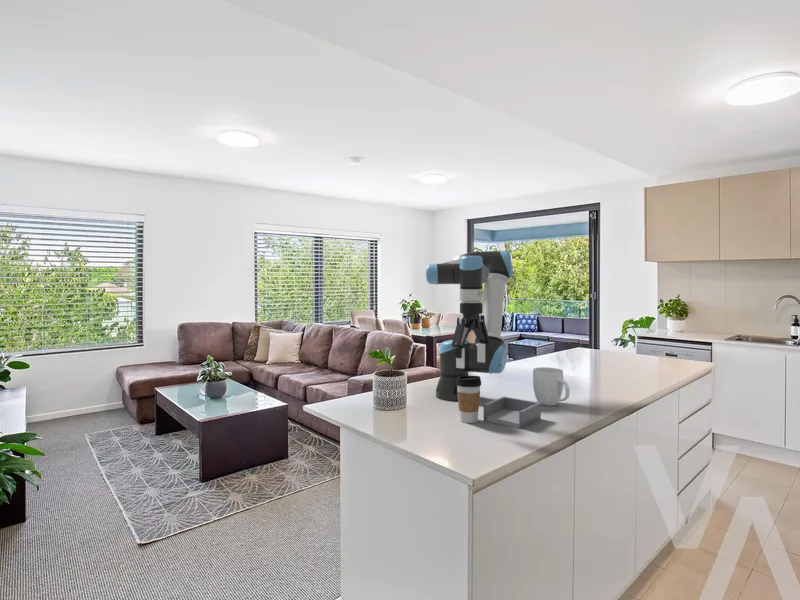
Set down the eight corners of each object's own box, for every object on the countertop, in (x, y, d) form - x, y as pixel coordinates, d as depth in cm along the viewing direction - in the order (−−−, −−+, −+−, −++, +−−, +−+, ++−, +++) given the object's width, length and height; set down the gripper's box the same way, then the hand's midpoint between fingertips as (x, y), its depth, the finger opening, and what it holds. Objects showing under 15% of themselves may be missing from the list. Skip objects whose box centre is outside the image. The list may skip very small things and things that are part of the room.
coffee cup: (475, 425, 149) (475, 380, 149) (451, 421, 154) (451, 377, 153) (485, 419, 157) (485, 375, 156) (462, 415, 161) (462, 373, 160)
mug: (577, 406, 171) (578, 372, 170) (559, 411, 165) (559, 375, 164) (545, 398, 183) (545, 366, 183) (526, 402, 177) (526, 369, 177)
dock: (483, 420, 155) (483, 404, 155) (503, 411, 166) (503, 396, 165) (522, 429, 146) (522, 412, 146) (540, 418, 156) (540, 403, 156)
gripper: (460, 303, 142) (460, 372, 143) (498, 301, 161) (498, 361, 162) (440, 303, 146) (440, 369, 147) (480, 300, 166) (479, 358, 167)
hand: (471, 365), depth 155 cm, fingers open, 13 cm apart
